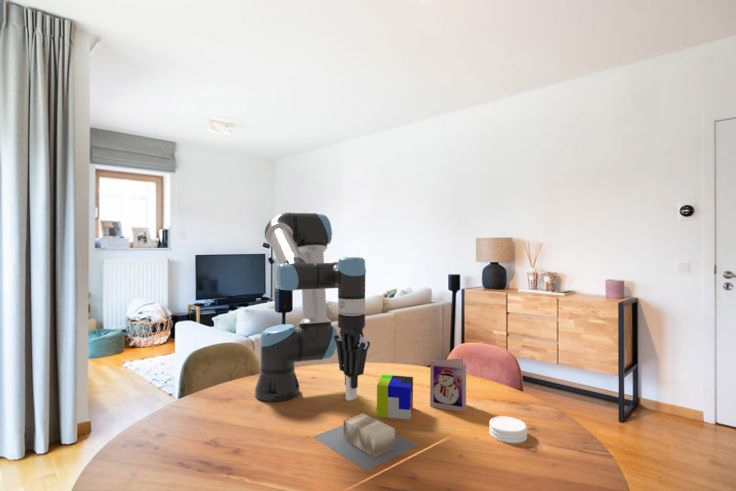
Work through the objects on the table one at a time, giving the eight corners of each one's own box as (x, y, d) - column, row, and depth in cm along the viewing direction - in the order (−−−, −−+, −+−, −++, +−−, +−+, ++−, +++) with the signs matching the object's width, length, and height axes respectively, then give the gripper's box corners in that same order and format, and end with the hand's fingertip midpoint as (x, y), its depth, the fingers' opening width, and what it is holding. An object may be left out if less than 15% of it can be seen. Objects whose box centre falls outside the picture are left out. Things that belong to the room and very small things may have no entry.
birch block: (343, 420, 110) (374, 437, 101) (363, 413, 115) (394, 428, 105) (343, 438, 110) (374, 457, 101) (363, 431, 115) (394, 448, 105)
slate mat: (312, 438, 111) (312, 436, 111) (362, 419, 123) (362, 417, 123) (366, 472, 95) (366, 470, 95) (417, 446, 107) (418, 445, 107)
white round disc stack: (526, 430, 117) (526, 418, 117) (527, 447, 108) (528, 434, 107) (490, 425, 120) (490, 413, 120) (488, 440, 111) (488, 428, 111)
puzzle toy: (409, 421, 122) (409, 387, 122) (376, 417, 124) (376, 385, 124) (412, 407, 132) (413, 376, 132) (382, 405, 134) (382, 374, 134)
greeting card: (429, 407, 132) (429, 361, 132) (434, 399, 139) (435, 355, 139) (465, 413, 128) (465, 365, 128) (468, 404, 135) (469, 359, 135)
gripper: (326, 311, 115) (326, 395, 115) (356, 318, 105) (355, 409, 106) (347, 308, 120) (347, 389, 120) (377, 314, 110) (377, 402, 111)
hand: (351, 398), depth 113 cm, fingers closed
